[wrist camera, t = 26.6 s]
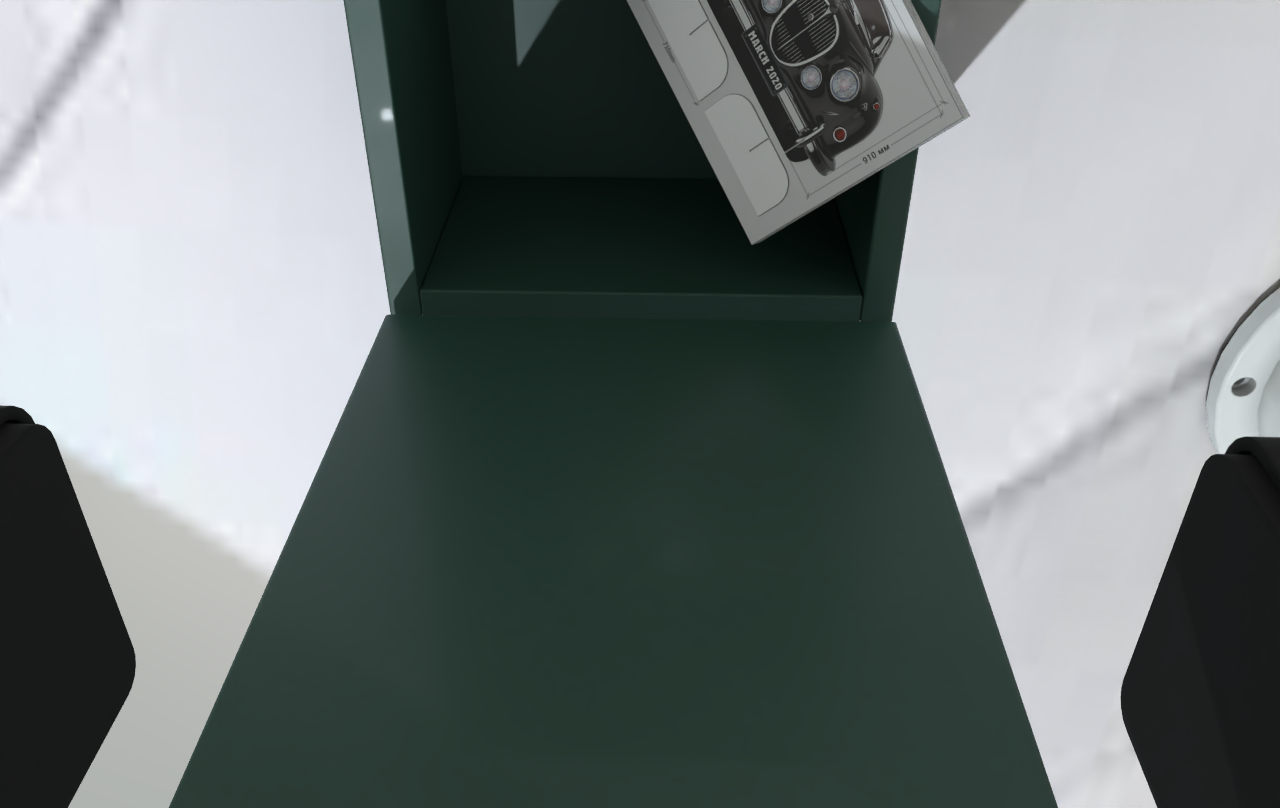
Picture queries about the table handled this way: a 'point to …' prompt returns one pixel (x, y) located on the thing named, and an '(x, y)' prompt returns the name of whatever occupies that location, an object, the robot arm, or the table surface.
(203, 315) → the table surface
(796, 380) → the box lid
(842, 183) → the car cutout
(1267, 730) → the robot arm
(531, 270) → the green lidded box
